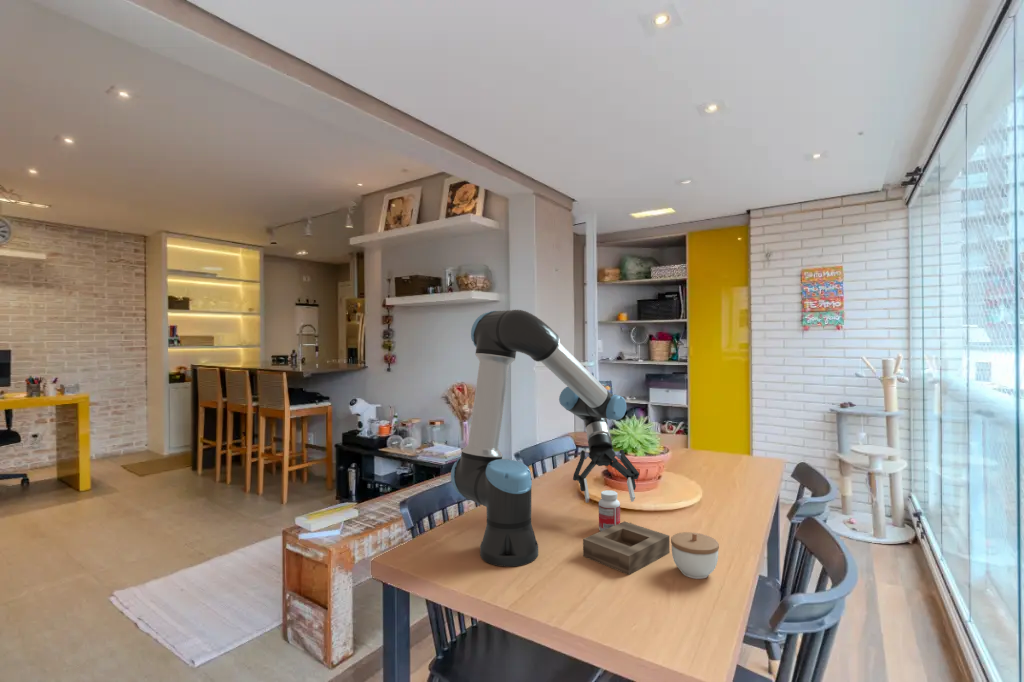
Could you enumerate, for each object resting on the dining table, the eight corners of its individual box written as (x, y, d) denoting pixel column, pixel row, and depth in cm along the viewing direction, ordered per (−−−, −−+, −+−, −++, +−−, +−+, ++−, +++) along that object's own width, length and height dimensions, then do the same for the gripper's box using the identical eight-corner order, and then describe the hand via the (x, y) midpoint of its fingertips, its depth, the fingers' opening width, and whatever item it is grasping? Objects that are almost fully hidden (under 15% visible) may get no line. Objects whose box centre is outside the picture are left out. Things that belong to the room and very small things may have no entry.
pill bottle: (613, 525, 151) (612, 488, 151) (624, 532, 146) (624, 494, 145) (594, 528, 149) (594, 490, 149) (605, 535, 143) (605, 496, 143)
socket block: (629, 575, 120) (628, 556, 120) (583, 556, 130) (583, 538, 130) (669, 552, 132) (669, 535, 132) (624, 537, 142) (624, 521, 142)
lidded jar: (714, 588, 113) (714, 546, 113) (665, 576, 119) (665, 536, 119) (722, 569, 122) (722, 530, 122) (677, 559, 128) (677, 522, 128)
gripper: (634, 444, 168) (649, 504, 153) (560, 446, 167) (567, 506, 152) (639, 431, 163) (654, 493, 148) (562, 433, 162) (570, 495, 147)
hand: (610, 500), depth 150 cm, fingers open, 13 cm apart
